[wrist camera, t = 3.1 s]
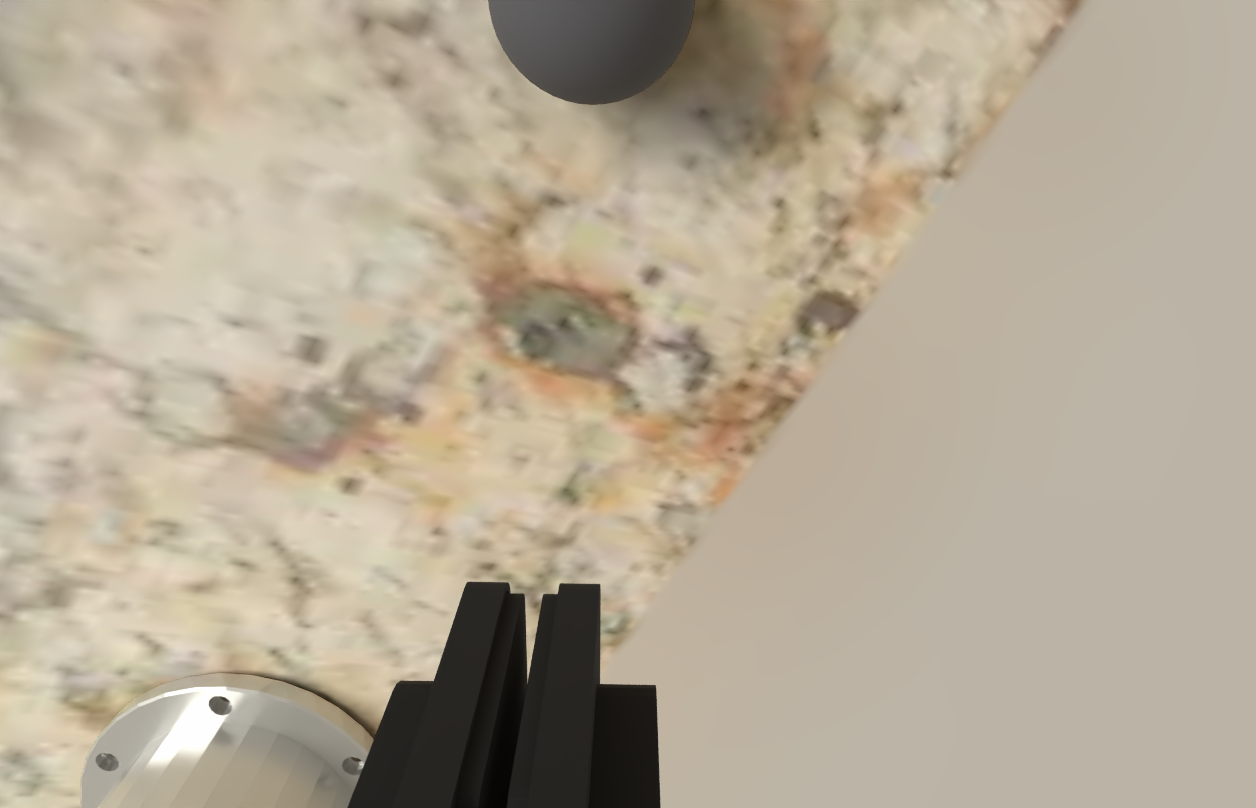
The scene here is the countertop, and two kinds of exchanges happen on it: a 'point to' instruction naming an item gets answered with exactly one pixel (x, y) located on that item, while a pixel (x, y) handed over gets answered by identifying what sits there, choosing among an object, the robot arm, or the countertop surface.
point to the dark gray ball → (592, 44)
